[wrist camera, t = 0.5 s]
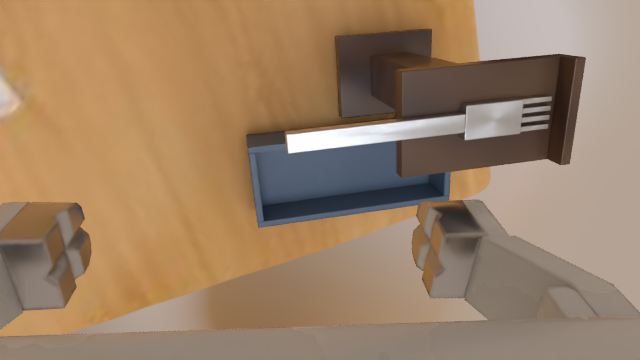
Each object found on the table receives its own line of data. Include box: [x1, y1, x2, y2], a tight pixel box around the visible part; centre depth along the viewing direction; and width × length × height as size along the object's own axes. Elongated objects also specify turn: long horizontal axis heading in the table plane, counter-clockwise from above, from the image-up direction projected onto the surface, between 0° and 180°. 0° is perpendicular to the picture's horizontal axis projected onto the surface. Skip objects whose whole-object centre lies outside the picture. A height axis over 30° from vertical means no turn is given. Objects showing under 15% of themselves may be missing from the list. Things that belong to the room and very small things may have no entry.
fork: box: [285, 95, 552, 154], centre depth 32 cm, size 20×3×1 cm, turn 94°
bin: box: [247, 119, 450, 228], centre depth 58 cm, size 11×26×6 cm, turn 94°
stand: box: [335, 29, 586, 178], centre depth 44 cm, size 10×13×28 cm
